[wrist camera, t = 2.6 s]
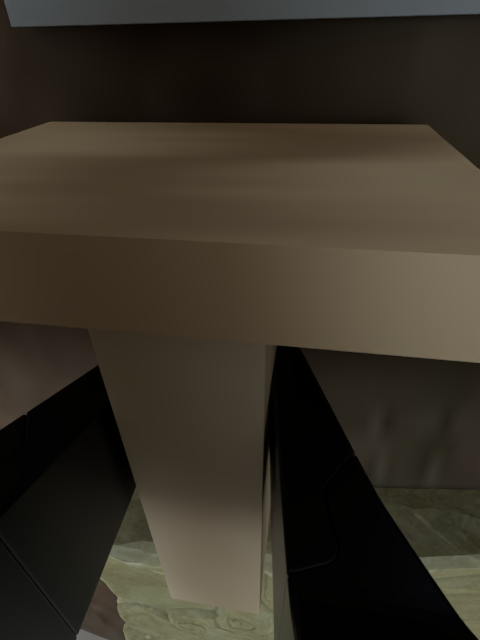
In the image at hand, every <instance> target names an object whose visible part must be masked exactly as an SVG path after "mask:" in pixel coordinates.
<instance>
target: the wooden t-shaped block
mask: <svg viewBox="0 0 480 640" xmlns="http://www.w3.org/2000/svg"><path fill="white" fill-rule="evenodd" d="M0 321H4V322H15V323H27V324H38V325H50V326H61V327H73V328H84V329H87V330H88V333H89V336H90V339H91V342H92V346H93V349H94V352H95V355H96V358H97V362H98V365H99V368H100V371H101V374H102V378H103V381H104V384H105V387H106V390H107V394H108V397H109V400H110V403H111V406H112V410H113V413H114V416H115V419H116V423H117V426H118V429H119V432H120V435H121V439H122V442H123V445H124V448H125V451H126V455H127V458H128V461H129V464H130V467H131V471H132V474H133V477H134V480H135V483H136V487H137V490H138V493H139V496H140V499H141V503H142V506H143V509H144V512H145V515H146V519H147V522H148V525H149V528H150V532H151V535H152V538H153V541H154V544H155V548H156V551H157V554H158V557H159V560H160V564H161V567H162V570H163V573H164V576H165V580H166V583H167V586H168V589H169V592H170V596H171V598H173V599H178V600H184V601H189V602H195V603H200V604H206V605H211V606H216V607H222V608H227V609H233V610H238V611H244V612H249V613H254V614H260V604H261V594H262V585H263V575H264V565H265V555H266V546H267V536H268V526H269V516H270V507H271V494H270V455H269V438H270V411H271V385H272V374H273V368H274V361H275V355H276V349H277V345H279V346H291V347H302V348H314V349H325V350H337V351H348V352H360V353H371V354H383V355H394V356H406V357H417V358H429V359H440V360H452V361H463V362H475V363H480V170H479V169H478V168H477V167H476V166H475V165H473V164H472V163H471V162H470V161H469V160H468V159H467V158H465V157H464V156H463V155H462V154H461V153H460V152H459V151H457V150H456V149H455V148H454V147H453V146H452V145H450V144H449V143H448V142H447V141H446V140H445V139H444V138H442V137H441V136H440V135H439V134H438V133H437V132H436V131H434V130H433V129H432V128H431V127H430V126H429V125H414V124H286V123H158V122H48V123H45V124H42V125H39V126H36V127H33V128H30V129H27V130H24V131H21V132H18V133H15V134H12V135H9V136H6V137H3V138H0Z"/></svg>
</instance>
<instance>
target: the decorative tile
mask: <svg viewBox="0 0 480 640" xmlns="http://www.w3.org/2000/svg"><path fill="white" fill-rule="evenodd" d="M374 489H375V491H376V492H377V494H378V496H379V498H380V499H381V501H382V502H383V504H384V506H385V507H386V509H387V510H388V512H389V513H390V515H391V516H392V518H393V520H394V521H395V523H396V524H397V526H398V527H399V529H400V530H401V532H402V533H403V535H404V536H405V538H406V539H407V540H408V542H409V543H410V545H411V546H412V548H413V549H414V551H415V552H416V554H417V555H418V557H419V558H420V560H421V561H422V563H423V564H424V565H425V567H426V568H427V570H428V571H429V573H430V574H431V576H432V577H433V579H434V580H435V582H436V583H437V585H438V586H439V588H440V589H441V590H442V592H443V593H444V595H445V596H446V598H447V599H448V601H449V602H450V604H451V605H452V606H453V608H454V609H455V611H456V612H457V614H458V615H459V616H460V618H461V619H462V620H463V621H464V623H465V624H466V625H467V626H468V628H469V629H470V630H471V631H472V632H473V634H474V635H475V636H476V637H477V638H478V639H479V640H480V490H463V489H407V488H381V487H374ZM100 578H101V579H102V580H103V581H104V582H105V583H106V584H107V586H108V587H109V588H110V589H111V590H112V592H113V593H114V594H115V595H116V596H117V597H118V600H117V602H118V607H117V609H118V612H119V614H120V617H121V618H122V619H123V620H124V621H125V624H124V628H123V632H124V635H125V638H126V639H125V640H274V614H273V574H272V534H271V507H270V516H269V526H268V536H267V546H266V555H265V565H264V575H263V585H262V594H261V604H260V614H254V613H249V612H244V611H238V610H233V609H227V608H222V607H216V606H211V605H206V604H200V603H195V602H189V601H184V600H178V599H173V598H171V596H170V592H169V589H168V586H167V583H166V580H165V576H164V573H163V570H162V567H161V564H160V560H159V557H158V554H157V551H156V548H155V544H154V541H153V538H152V535H151V532H150V528H149V525H148V522H147V519H146V515H145V512H144V509H143V506H142V503H141V499H140V496H139V493H138V490H137V487H136V488H135V491H134V493H133V496H132V499H131V501H130V504H129V506H128V509H127V511H126V514H125V516H124V519H123V521H122V524H121V526H120V529H119V531H118V534H117V536H116V539H115V542H114V544H113V547H112V549H111V552H110V554H109V557H108V559H107V562H106V564H105V567H104V569H103V572H102V574H101V577H100Z"/></svg>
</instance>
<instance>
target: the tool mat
mask: <svg viewBox="0 0 480 640" xmlns="http://www.w3.org/2000/svg"><path fill="white" fill-rule="evenodd" d="M4 2H5V6H6V9H7V13H8V16H9V20H10V23H11V27H49V26H85V25H121V24H157V23H193V22H229V21H265V20H301V19H336V18H372V17H408V16H444V15H480V0H4Z"/></svg>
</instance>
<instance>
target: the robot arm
mask: <svg viewBox="0 0 480 640" xmlns="http://www.w3.org/2000/svg"><path fill="white" fill-rule="evenodd" d="M269 455H270V494H271V534H272V574H273V614H274V640H479V639H478V638H477V637H476V636H475V635H474V634H473V632H472V631H471V630H470V629H469V628H468V626H467V625H466V624H465V623H464V621H463V620H462V619H461V618H460V616H459V615H458V614H457V612H456V611H455V609H454V608H453V606H452V605H451V604H450V602H449V601H448V599H447V598H446V596H445V595H444V593H443V592H442V590H441V589H440V588H439V586H438V585H437V583H436V582H435V580H434V579H433V577H432V576H431V574H430V573H429V571H428V570H427V568H426V567H425V565H424V564H423V563H422V561H421V560H420V558H419V557H418V555H417V554H416V552H415V551H414V549H413V548H412V546H411V545H410V543H409V542H408V540H407V539H406V538H405V536H404V535H403V533H402V532H401V530H400V529H399V527H398V526H397V524H396V523H395V521H394V520H393V518H392V516H391V515H390V513H389V512H388V510H387V509H386V507H385V506H384V504H383V502H382V501H381V499H380V498H379V496H378V494H377V492H376V491H375V489H374V487H373V485H372V484H371V482H370V480H369V478H368V476H367V475H366V473H365V471H364V469H363V467H362V465H361V463H360V461H359V459H358V458H357V456H356V455H355V452H354V450H353V448H352V446H351V445H350V443H349V441H348V439H347V437H346V435H345V433H344V431H343V429H342V427H341V425H340V423H339V422H338V420H337V418H336V416H335V414H334V412H333V410H332V408H331V406H330V404H329V402H328V400H327V398H326V397H325V395H324V393H323V391H322V389H321V387H320V385H319V383H318V381H317V379H316V377H315V375H314V374H313V372H312V370H311V368H310V366H309V364H308V362H307V360H306V358H305V356H304V354H303V352H302V350H301V349H300V347H291V346H279V345H277V349H276V355H275V361H274V368H273V374H272V385H271V411H270V438H269ZM135 488H136V483H135V480H134V477H133V474H132V471H131V467H130V464H129V461H128V458H127V455H126V451H125V448H124V445H123V442H122V439H121V435H120V432H119V429H118V426H117V423H116V419H115V416H114V413H113V410H112V406H111V403H110V400H109V397H108V394H107V390H106V387H105V384H104V381H103V378H102V374H101V371H100V368H99V365H98V366H96V367H95V368H93V369H92V370H90V371H89V372H87V373H86V374H84V375H83V376H81V377H80V378H78V379H77V380H75V381H74V382H72V383H71V384H69V385H68V386H66V387H65V388H63V389H62V390H60V391H59V392H57V393H56V394H54V395H53V396H51V397H50V398H48V399H47V400H45V401H44V402H42V403H41V404H39V405H38V406H36V407H35V408H33V409H32V410H30V411H28V412H27V415H22V416H21V417H19V418H18V419H16V420H15V421H13V422H12V423H10V424H9V425H7V426H6V427H4V428H3V429H1V430H0V640H76V638H77V637H76V635H77V634H78V633H79V630H80V628H81V625H82V623H83V620H84V617H85V615H86V612H87V610H88V607H89V605H90V602H91V600H92V597H93V595H94V592H95V590H96V587H97V585H98V582H99V580H100V577H101V574H102V572H103V569H104V567H105V564H106V562H107V559H108V557H109V554H110V552H111V549H112V547H113V544H114V542H115V539H116V536H117V534H118V531H119V529H120V526H121V524H122V521H123V519H124V516H125V514H126V511H127V509H128V506H129V504H130V501H131V499H132V496H133V493H134V491H135Z"/></svg>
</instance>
